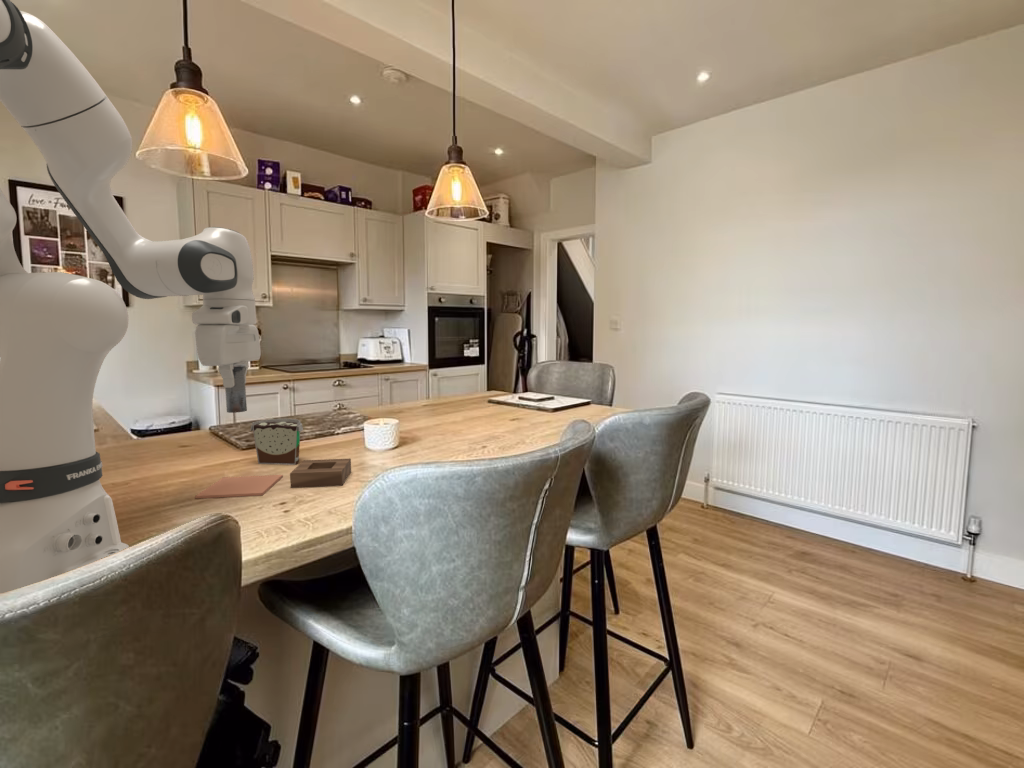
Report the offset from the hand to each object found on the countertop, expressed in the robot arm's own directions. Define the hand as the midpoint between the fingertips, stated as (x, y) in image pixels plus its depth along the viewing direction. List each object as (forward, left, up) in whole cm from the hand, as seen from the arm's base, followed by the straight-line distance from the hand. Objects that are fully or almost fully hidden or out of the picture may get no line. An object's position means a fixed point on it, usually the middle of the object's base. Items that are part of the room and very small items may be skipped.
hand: (235, 385), depth 96 cm
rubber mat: (0, 0, -21) cm, 21 cm away
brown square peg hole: (+3, -15, -21) cm, 26 cm away
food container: (+20, -2, -21) cm, 29 cm away
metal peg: (0, 0, -5) cm, 5 cm away
